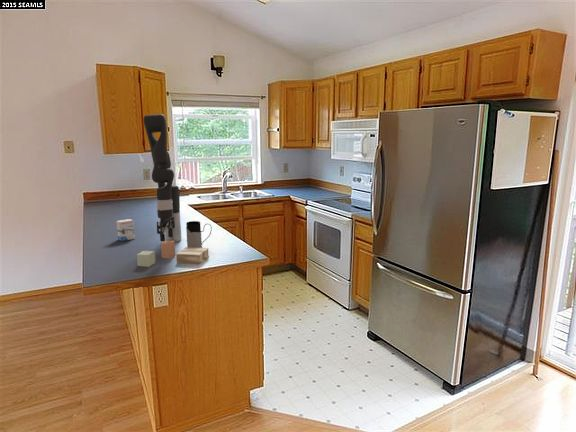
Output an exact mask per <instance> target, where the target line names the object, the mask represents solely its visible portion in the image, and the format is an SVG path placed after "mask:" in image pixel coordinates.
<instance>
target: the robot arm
mask: <svg viewBox="0 0 576 432" xmlns="http://www.w3.org/2000/svg"><path fill="white" fill-rule="evenodd" d="M143 126H144V128H145V133H146V136H147V140H148V143H149V148H150V153H151V158H152V164H153V168H152V172H151V180H152V181H153V182H154V183H156V184H157V186H158V187H157V188H156V208H157V212H156V213H157V218H158V219H160V220H159V221H156V233H157V234H158V235H159V237H160V238H159V239H160V240H159V241H160V242H164V241H165V240H167V241H175V242H176V243H177V242H180V241H181V240H182V225H181V224H182V223H181V211H180V208H181V207H180V205H181V203H180V193H181V192H180V187H179V186H178V185H175V184H174V185H173V182H174V178H175V172H174V171H173V169H171V167H172V161H171V157H170V153H169V151H168V125H167V119H166V117H165V115H164V114H163V113H156V114H148V115H147V114H146V115H144V116H143ZM154 133H160V135H159V136H158V138H156V136H155V134H154Z"/></svg>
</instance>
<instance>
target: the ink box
mask: <svg viewBox="0 0 576 432" xmlns="http://www.w3.org/2000/svg"><path fill="white" fill-rule="evenodd" d="M134 224H135V223H134V219H131V218H129V219H127V218H126V219H120V220H116V232H117V234H116V235H117V240H118V241H120V242H125V241H129V240H130V241H131V240H134V239H136V236H135V227H134V226H135V225H134Z"/></svg>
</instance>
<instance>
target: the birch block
mask: <svg viewBox="0 0 576 432" xmlns="http://www.w3.org/2000/svg"><path fill="white" fill-rule="evenodd" d="M175 257H176V258H175V259H176V263H177V264H188V265H201V264H202V263H203V262H204V261H206V260H207V259H208V258H209V247H202V248H195V247H187V246H186V247H184V248H183V249H181V250H180V251H178V252H176V253H175Z"/></svg>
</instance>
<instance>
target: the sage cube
mask: <svg viewBox="0 0 576 432" xmlns="http://www.w3.org/2000/svg"><path fill="white" fill-rule="evenodd" d="M136 260H137V261H136V262H137V267H146V268H147V267H148V268H150V267H151V266H152V265H154V264H156V252H155V251H154V250H142V251H140V252H139V253H136Z"/></svg>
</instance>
